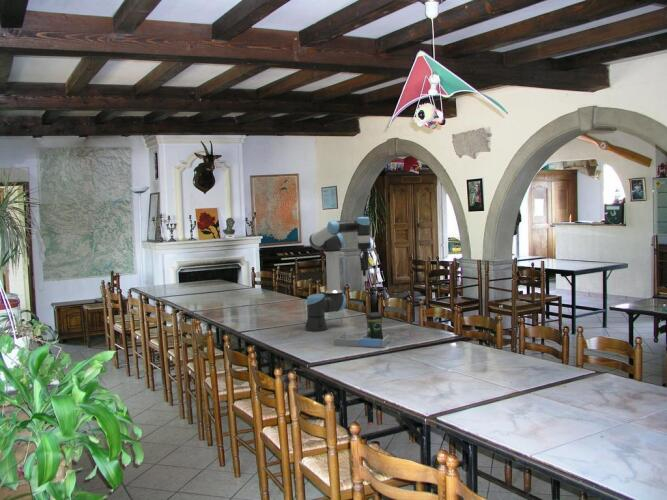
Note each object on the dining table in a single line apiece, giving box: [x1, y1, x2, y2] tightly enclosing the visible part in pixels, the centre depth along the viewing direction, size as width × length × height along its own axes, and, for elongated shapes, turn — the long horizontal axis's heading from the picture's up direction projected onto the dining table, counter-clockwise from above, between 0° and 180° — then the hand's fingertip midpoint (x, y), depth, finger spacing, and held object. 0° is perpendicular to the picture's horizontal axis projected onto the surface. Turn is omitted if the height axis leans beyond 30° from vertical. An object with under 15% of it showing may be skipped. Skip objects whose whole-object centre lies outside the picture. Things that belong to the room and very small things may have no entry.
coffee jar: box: [365, 311, 384, 340], centre depth 389 cm, size 10×8×19 cm
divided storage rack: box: [333, 332, 391, 349], centre depth 389 cm, size 18×30×5 cm, turn 71°
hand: (365, 280), depth 396 cm, fingers closed
